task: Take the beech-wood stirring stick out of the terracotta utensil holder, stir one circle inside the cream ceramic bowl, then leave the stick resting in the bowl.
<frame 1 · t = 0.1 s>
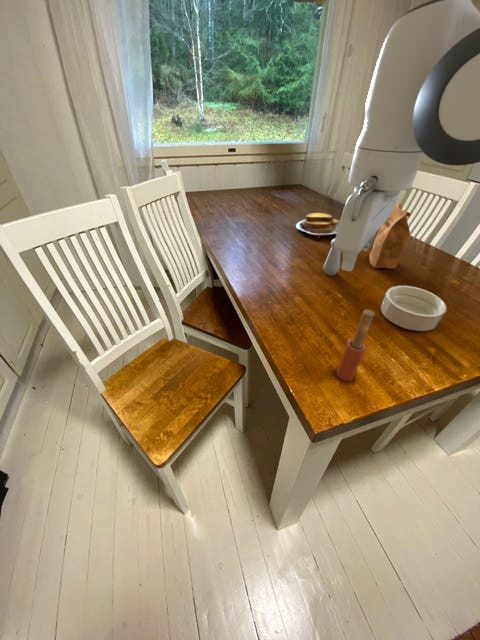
hand: (355, 258, 48), 29 cm above the table, tool pointing down, fingers open, 8 cm apart
salt shaker: (329, 273, 104), on the table
stirring stick: (345, 372, 64), point 1 cm above the table, touching utensil holder
utensil holder: (344, 375, 65), on the table
coffee package: (381, 263, 110), on the table
food on plate: (320, 230, 138), on the table
bowl: (407, 316, 83), on the table
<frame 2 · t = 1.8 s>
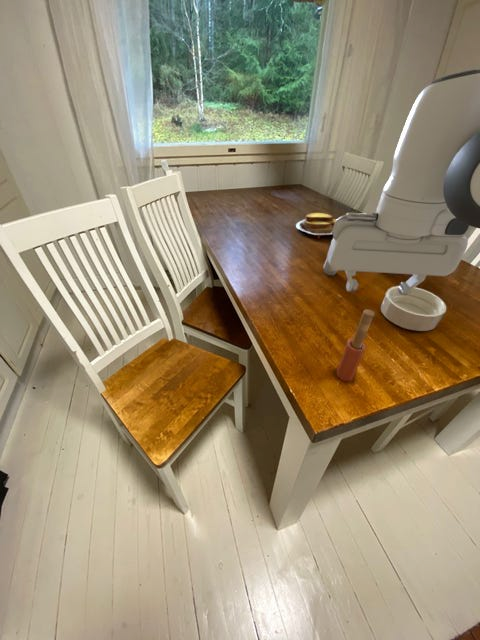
hand: (376, 291, 50), 24 cm above the table, tool pointing down, fingers open, 8 cm apart
nothing on the table moved.
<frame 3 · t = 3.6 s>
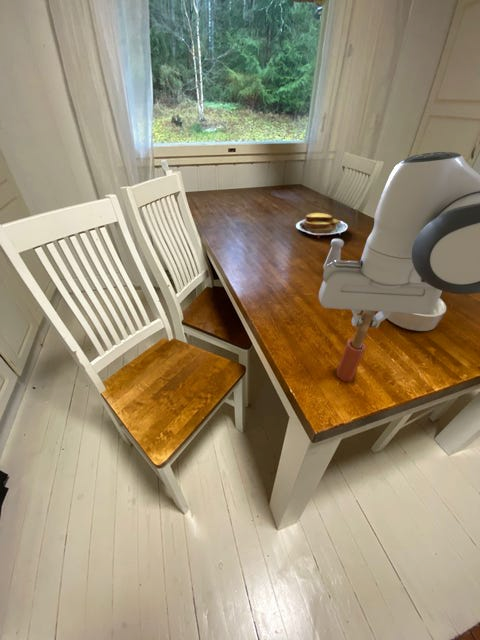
hand: (364, 325, 55), 16 cm above the table, tool pointing down, fingers closed on stirring stick, 2 cm apart
stirring stick: (345, 372, 64), point 1 cm above the table, touching gripper, utensil holder
everything else where it was.
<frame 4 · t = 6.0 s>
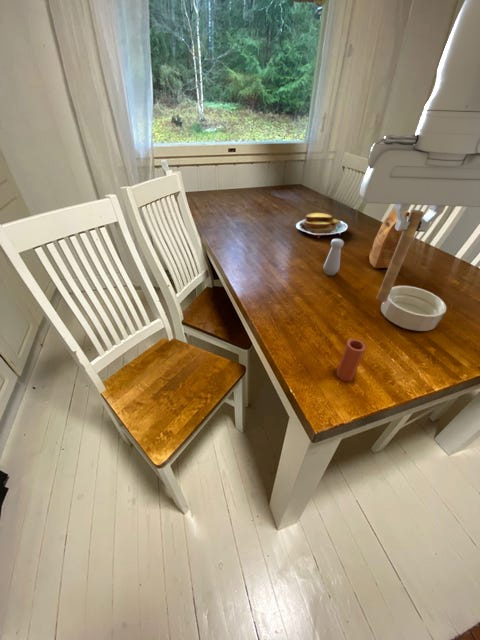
hand: (409, 230, 48), 33 cm above the table, tool pointing down, fingers closed on stirring stick
stirring stick: (381, 299, 57), point 18 cm above the table, touching gripper
everything else where it was.
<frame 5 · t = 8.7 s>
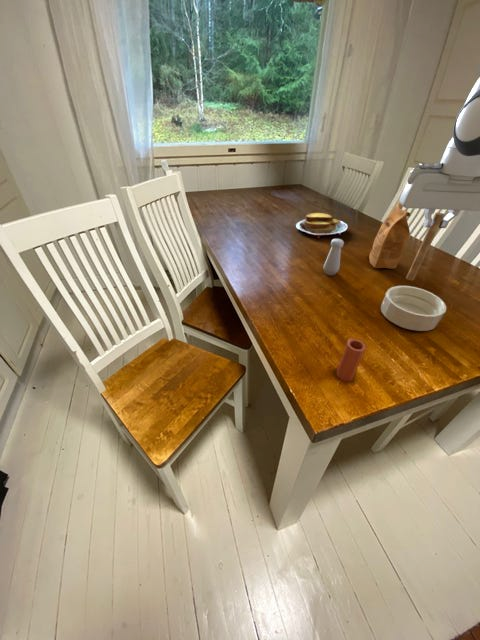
hand: (434, 227, 68), 27 cm above the table, tool pointing down, fingers closed on stirring stick
stirring stick: (409, 278, 77), point 12 cm above the table, touching gripper
everything else where it was.
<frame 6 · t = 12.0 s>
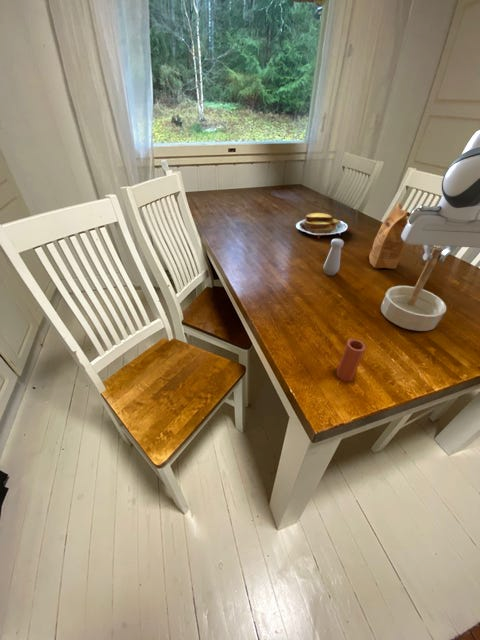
hand: (432, 260, 74), 17 cm above the table, tool pointing down, fingers closed on stirring stick, 2 cm apart
stirring stick: (410, 304, 83), point 3 cm above the table, touching gripper
everything else where it was.
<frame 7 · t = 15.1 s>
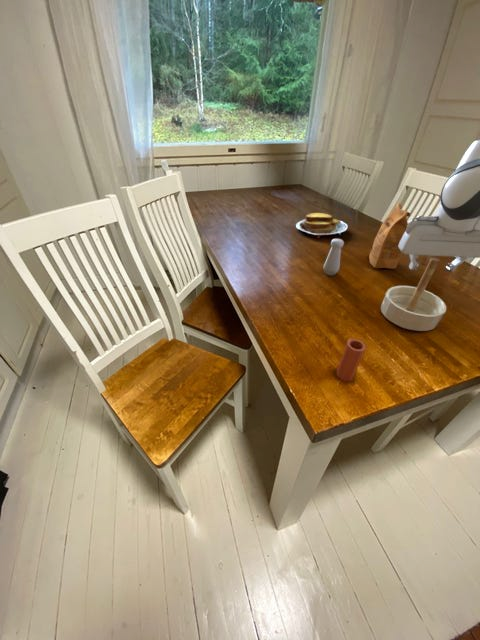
hand: (430, 269, 73), 16 cm above the table, tool pointing down, fingers open, 8 cm apart
stirring stick: (407, 313, 83), point 1 cm above the table, touching bowl
everything else where it was.
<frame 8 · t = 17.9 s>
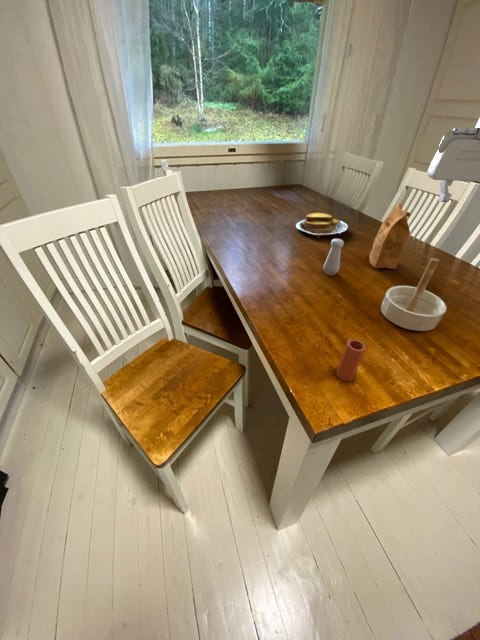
hand: (464, 202, 62), 33 cm above the table, tool pointing down, fingers open, 8 cm apart
nothing on the table moved.
at the end: stirring stick inside the target area in the bowl (0.1 cm from its centre), point 0.8 cm above the bowl's base; stirring stick touching bowl; stirring stick moved 34.9 cm from its start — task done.
